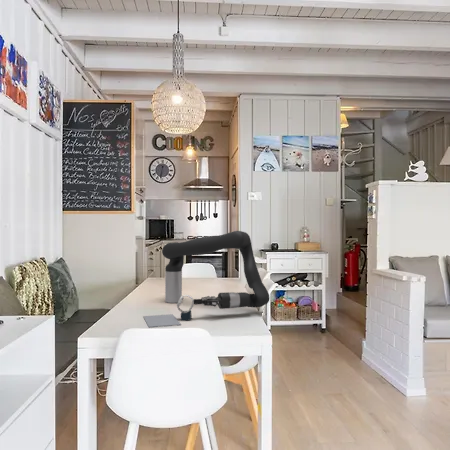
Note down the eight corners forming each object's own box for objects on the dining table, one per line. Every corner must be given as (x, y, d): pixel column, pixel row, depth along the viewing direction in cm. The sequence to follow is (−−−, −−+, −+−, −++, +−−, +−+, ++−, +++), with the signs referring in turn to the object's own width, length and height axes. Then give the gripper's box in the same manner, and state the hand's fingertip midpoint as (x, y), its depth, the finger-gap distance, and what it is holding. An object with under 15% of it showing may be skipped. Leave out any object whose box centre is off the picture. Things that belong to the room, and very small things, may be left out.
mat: (143, 316, 194) (143, 316, 194) (172, 315, 198) (172, 314, 198) (148, 327, 175) (148, 326, 175) (181, 325, 179) (181, 324, 179)
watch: (178, 317, 193) (176, 294, 193) (195, 316, 193) (193, 293, 193) (176, 320, 188) (175, 297, 187) (194, 319, 187) (192, 296, 187)
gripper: (224, 290, 203) (190, 291, 198) (233, 294, 190) (197, 296, 185) (224, 305, 203) (190, 307, 198) (233, 311, 190) (196, 312, 185)
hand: (193, 301), depth 191 cm, fingers closed
